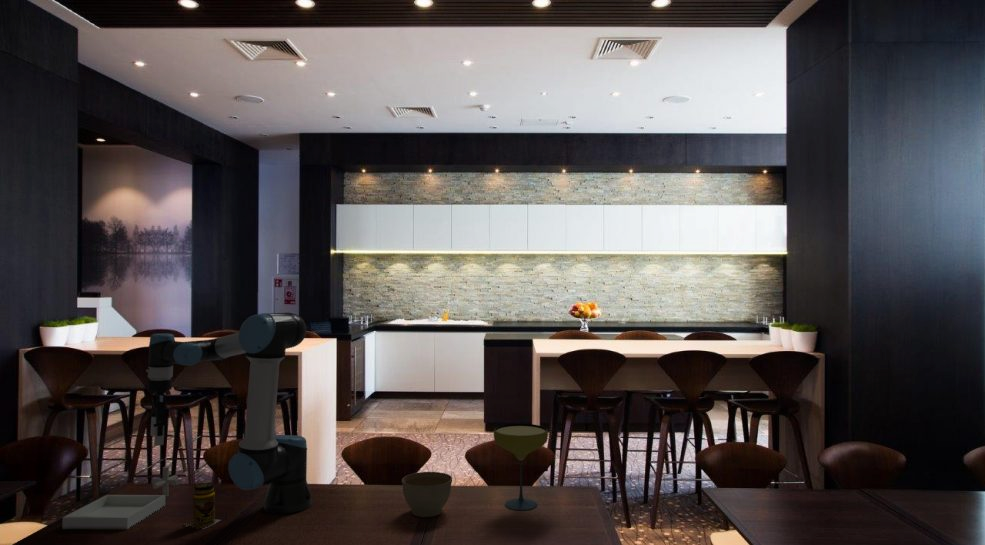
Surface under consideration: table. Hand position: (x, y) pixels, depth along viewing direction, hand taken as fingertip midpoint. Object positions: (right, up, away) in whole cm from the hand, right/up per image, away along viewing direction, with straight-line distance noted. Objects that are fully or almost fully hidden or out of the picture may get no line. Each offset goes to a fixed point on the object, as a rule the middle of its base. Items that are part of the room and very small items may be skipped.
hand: (156, 440), depth 208 cm
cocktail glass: (+125, -20, -7) cm, 127 cm away
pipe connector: (+1, -21, +3) cm, 21 cm away
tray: (-4, -20, -16) cm, 26 cm away
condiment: (+26, -20, -22) cm, 39 cm away
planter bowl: (+95, -20, -13) cm, 98 cm away
